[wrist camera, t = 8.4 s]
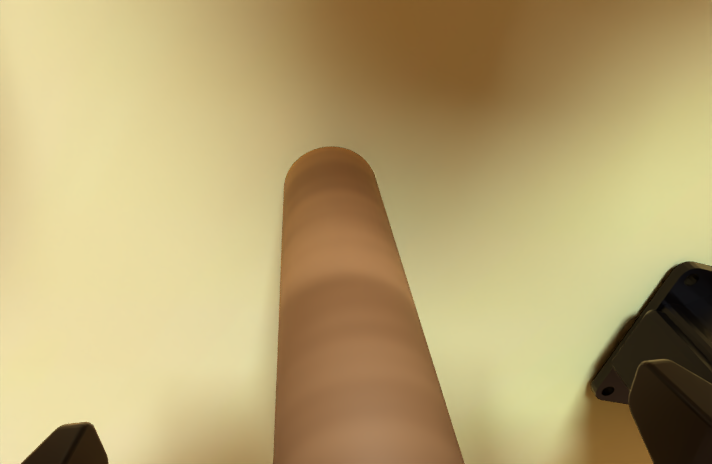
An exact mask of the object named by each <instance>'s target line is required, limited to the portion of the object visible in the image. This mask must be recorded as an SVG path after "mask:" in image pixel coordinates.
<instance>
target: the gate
mask: <svg viewBox="0 0 712 464" xmlns="http://www.w3.org/2000/svg"><path fill="white" fill-rule="evenodd" d="M273 464H464V461H463V458H462V455H461V451H460V448H459V445H458V442H457V439H456V435H455V432H454V429H453V426H452V422H451V419H450V416H449V413H448V410H447V406H446V403H445V400H444V397H443V394H442V390H441V387H440V384H439V381H438V378H437V374H436V371H435V368H434V365H433V361H432V358H431V355H430V352H429V349H428V345H427V342H426V339H425V336H424V333H423V329H422V326H421V323H420V320H419V317H418V313H417V310H416V307H415V304H414V301H413V297H412V294H411V291H410V288H409V284H408V281H407V278H406V275H405V272H404V268H403V265H402V262H401V259H400V256H399V252H398V249H397V246H396V243H395V240H394V236H393V233H392V230H391V227H390V223H389V220H388V217H387V214H386V211H385V207H384V204H383V201H382V198H381V195H380V191H379V188H378V185H377V182H376V179H375V175H374V173H373V171H372V169H371V167H370V166H369V164H368V163H367V162H366V161H365V160H364V159H363V158H362V157H361V156H359V155H358V154H357V153H355V152H353V151H351V150H348V149H345V148H340V147H322V148H318V149H314V150H312V151H310V152H308V153H306V154H304V155H303V156H301V157H300V158H299V159H298V160H297V161H296V162H295V163H294V164H293V165H292V167H291V168H290V170H289V171H288V173H287V176H286V179H285V183H284V202H283V227H282V253H281V279H280V305H279V330H278V356H277V382H276V407H275V433H274V459H273Z"/></svg>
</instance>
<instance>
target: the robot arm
mask: <svg viewBox="0 0 712 464" xmlns="http://www.w3.org/2000/svg"><path fill="white" fill-rule="evenodd" d="M591 389H592V391H593V392H594V394H595V396H596V397H597V398H598V399H600V400H605V401H611V402H617V403H624V404H629V408H630V411H631V414H632V416H633V418H634V421H635V423H636V425H637V427H638V430H639V432H640V434H641V436H642V439H643V441H644V443H645V445H646V448H647V450H648V452H649V454H650V457H651V459H652V461H653V463H654V464H712V266H708V265H704V264H700V263H696V262H684V263H681V264H680V265H678V266H677V267H676V268H675V269H674V270H673V271H672V272H671V273H670V275H669V276H668V278H667V279H666V280H665V282H664V283H663V285H662V286H661V287H660V289H659V290H658V291H657V293H656V294H655V296H654V297H653V298H652V300H651V301H650V303H649V304H648V305H647V307H646V308H645V309H644V311H643V312H642V314H641V315H640V316H639V318H638V319H637V321H636V322H635V323H634V325H633V326H632V327H631V329H630V330H629V332H628V333H627V334H626V336H625V337H624V339H623V340H622V341H621V343H620V344H619V345H618V347H617V348H616V350H615V351H614V352H613V354H612V355H611V357H610V358H609V359H608V361H607V362H606V363H605V365H604V366H603V368H602V369H601V370H600V372H599V373H598V375H597V376H596V377H595V379H594V380H593V381H592V383H591ZM21 464H108V457H107V454H106V452H105V450H104V447H103V445H102V443H101V441H100V439H99V436H98V434H97V432H96V430H95V428H94V426H93V425H92V424H91V423H89V422H80V423H71V424H64V425H62V426H60V427H58V428H57V429H56V430H55V431H54V432H53V433H52V434H51V435H49V436H48V437H47V438H46V439H45V440H44V441H43V442H42V443H41V444H40V445H39V446H38V447H37V448H36V449H35V450H34V451H33V452H32V453H31V454H30V455H29V456H28V457H27V458H26V459H25V460H24V461H23V462H22V463H21Z"/></svg>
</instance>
